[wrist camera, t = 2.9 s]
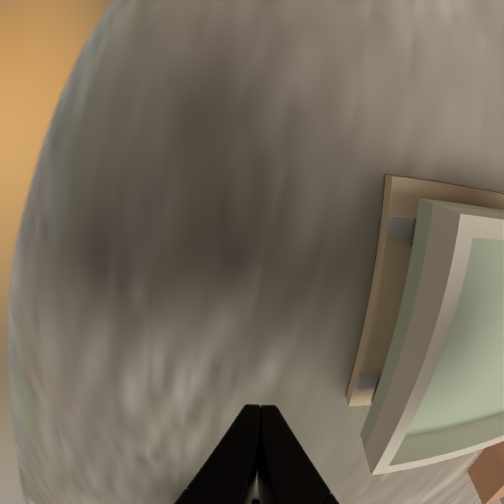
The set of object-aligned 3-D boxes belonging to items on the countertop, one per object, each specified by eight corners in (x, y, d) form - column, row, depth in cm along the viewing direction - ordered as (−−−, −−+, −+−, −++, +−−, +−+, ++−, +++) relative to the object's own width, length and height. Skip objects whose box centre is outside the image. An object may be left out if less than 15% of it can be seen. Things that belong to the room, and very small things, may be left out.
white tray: (351, 404, 15) (371, 475, 10) (394, 189, 12) (460, 213, 7) (500, 381, 15) (535, 427, 10) (553, 216, 11) (612, 240, 7)
